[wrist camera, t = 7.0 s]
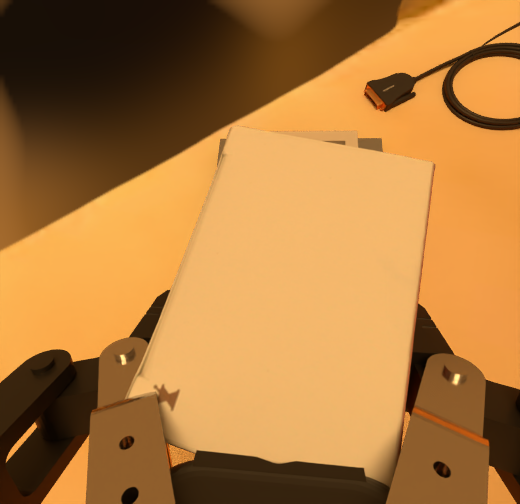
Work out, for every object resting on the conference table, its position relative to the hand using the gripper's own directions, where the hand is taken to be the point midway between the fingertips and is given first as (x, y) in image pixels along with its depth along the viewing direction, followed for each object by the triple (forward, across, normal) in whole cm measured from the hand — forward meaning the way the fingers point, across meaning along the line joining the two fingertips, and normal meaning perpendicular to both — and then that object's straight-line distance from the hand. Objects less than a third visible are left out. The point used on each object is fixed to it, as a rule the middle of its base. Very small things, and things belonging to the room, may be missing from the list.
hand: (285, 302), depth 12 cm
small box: (+3, 0, +4) cm, 5 cm away
